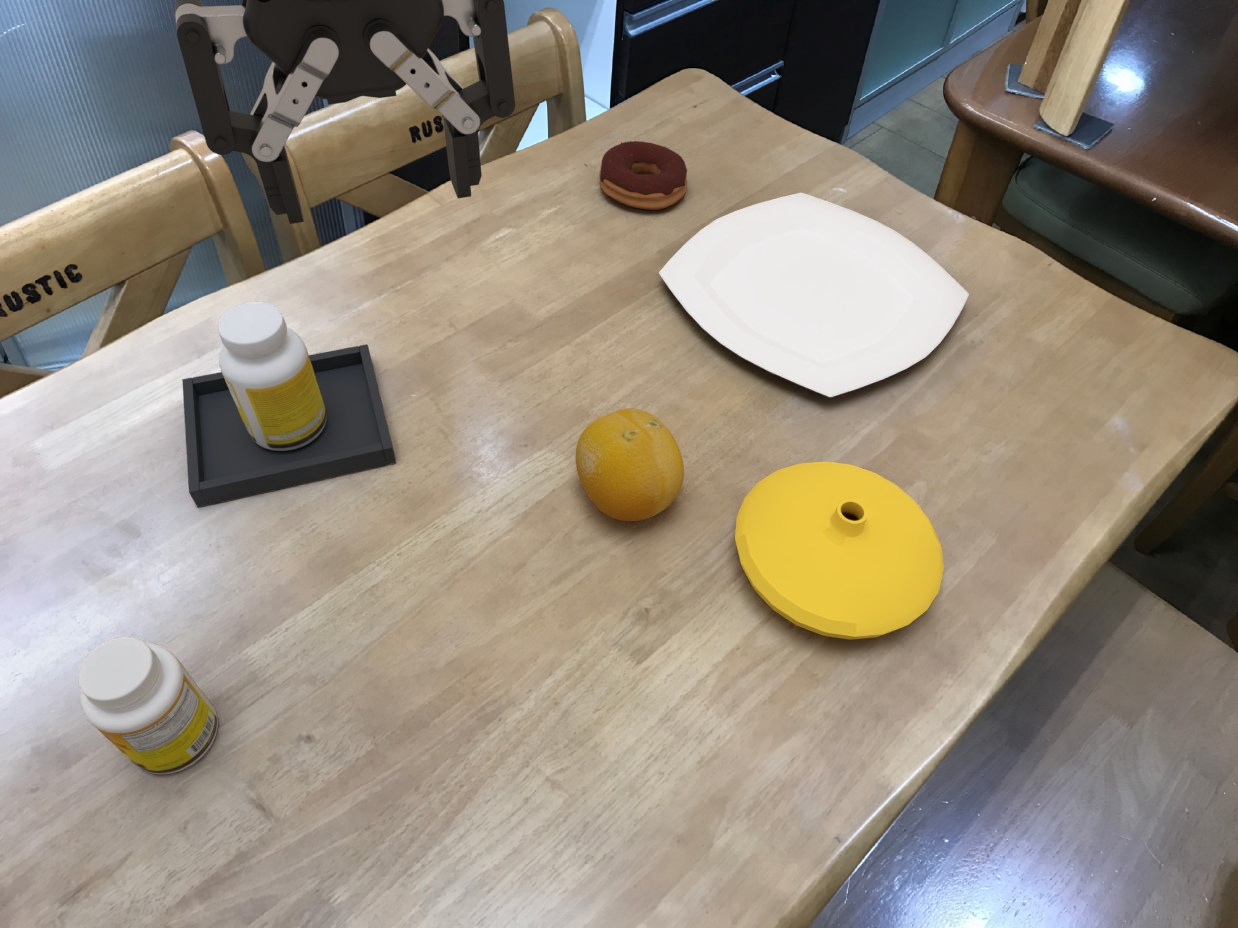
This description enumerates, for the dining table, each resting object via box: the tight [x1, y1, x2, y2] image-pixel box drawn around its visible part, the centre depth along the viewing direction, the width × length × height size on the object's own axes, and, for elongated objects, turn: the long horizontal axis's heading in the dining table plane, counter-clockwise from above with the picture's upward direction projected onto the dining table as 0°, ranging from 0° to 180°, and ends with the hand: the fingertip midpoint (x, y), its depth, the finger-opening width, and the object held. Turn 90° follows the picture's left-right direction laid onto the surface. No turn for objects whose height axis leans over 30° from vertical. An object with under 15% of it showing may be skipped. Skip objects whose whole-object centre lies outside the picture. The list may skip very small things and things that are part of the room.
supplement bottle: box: [77, 636, 219, 775], centre depth 54 cm, size 6×6×10 cm
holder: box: [181, 343, 397, 508], centre depth 74 cm, size 16×13×2 cm
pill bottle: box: [217, 301, 327, 451], centre depth 70 cm, size 6×6×12 cm
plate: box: [658, 192, 970, 399], centre depth 88 cm, size 27×27×2 cm
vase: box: [734, 461, 945, 640], centre depth 66 cm, size 16×16×7 cm
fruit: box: [575, 408, 685, 522], centre depth 69 cm, size 9×8×8 cm
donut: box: [598, 140, 688, 211], centre depth 98 cm, size 10×10×4 cm
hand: (380, 201), depth 46 cm, fingers open, 8 cm apart
